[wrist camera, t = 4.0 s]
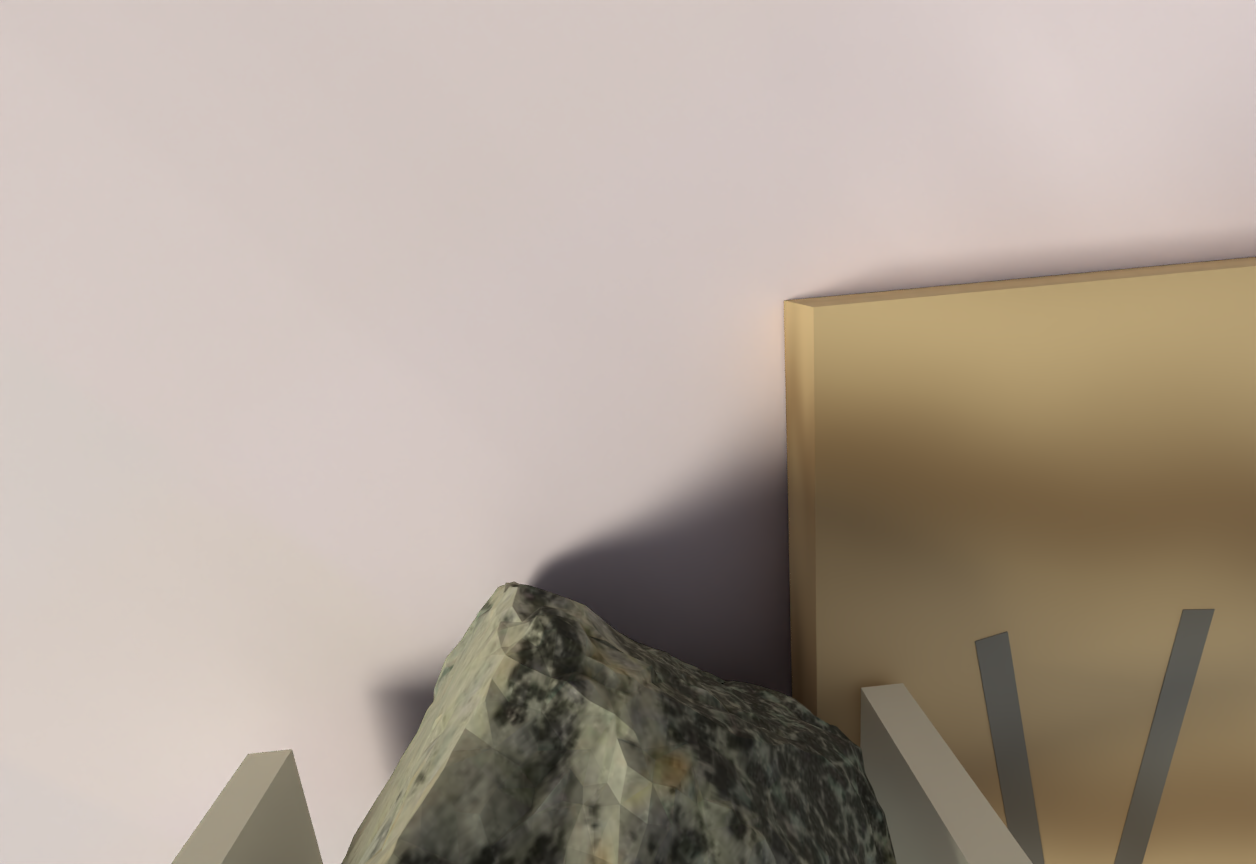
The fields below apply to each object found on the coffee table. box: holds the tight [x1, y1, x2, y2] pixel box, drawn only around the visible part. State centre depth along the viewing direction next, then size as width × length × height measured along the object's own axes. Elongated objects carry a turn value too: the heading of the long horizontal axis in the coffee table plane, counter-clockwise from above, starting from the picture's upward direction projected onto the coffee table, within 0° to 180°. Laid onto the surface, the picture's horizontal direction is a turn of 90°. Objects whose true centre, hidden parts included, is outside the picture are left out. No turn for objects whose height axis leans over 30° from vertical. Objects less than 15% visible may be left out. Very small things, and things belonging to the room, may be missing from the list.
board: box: [784, 257, 1256, 864], centre depth 14 cm, size 20×16×2 cm
